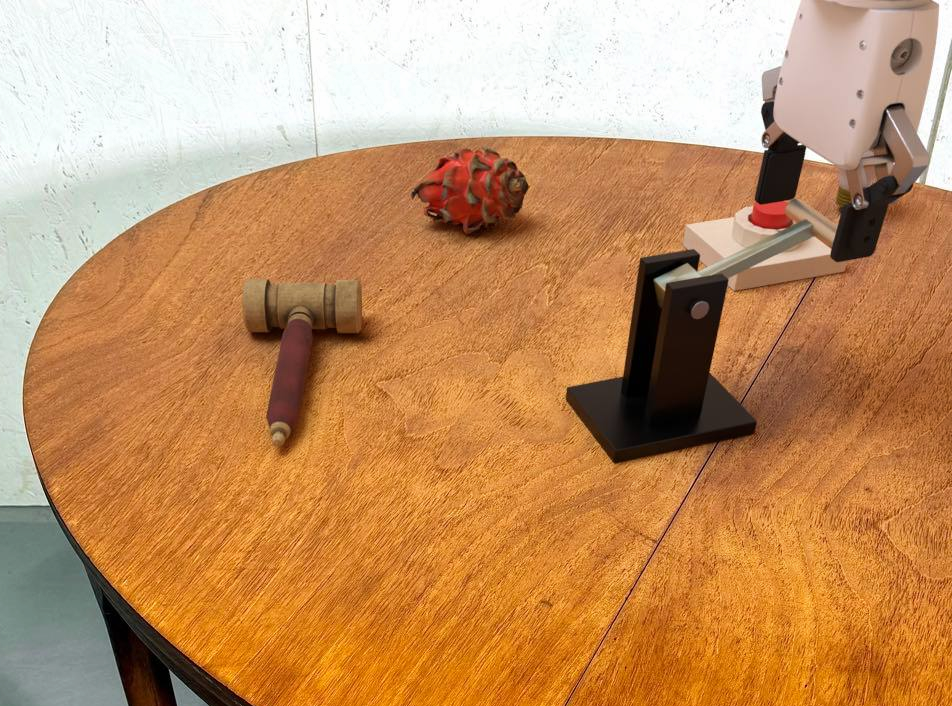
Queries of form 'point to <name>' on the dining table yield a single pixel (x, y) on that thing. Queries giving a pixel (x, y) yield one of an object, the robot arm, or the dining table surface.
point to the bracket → (665, 371)
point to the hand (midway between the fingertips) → (810, 227)
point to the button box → (740, 233)
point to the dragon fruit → (473, 189)
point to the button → (770, 215)
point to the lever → (760, 247)
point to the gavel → (297, 335)
